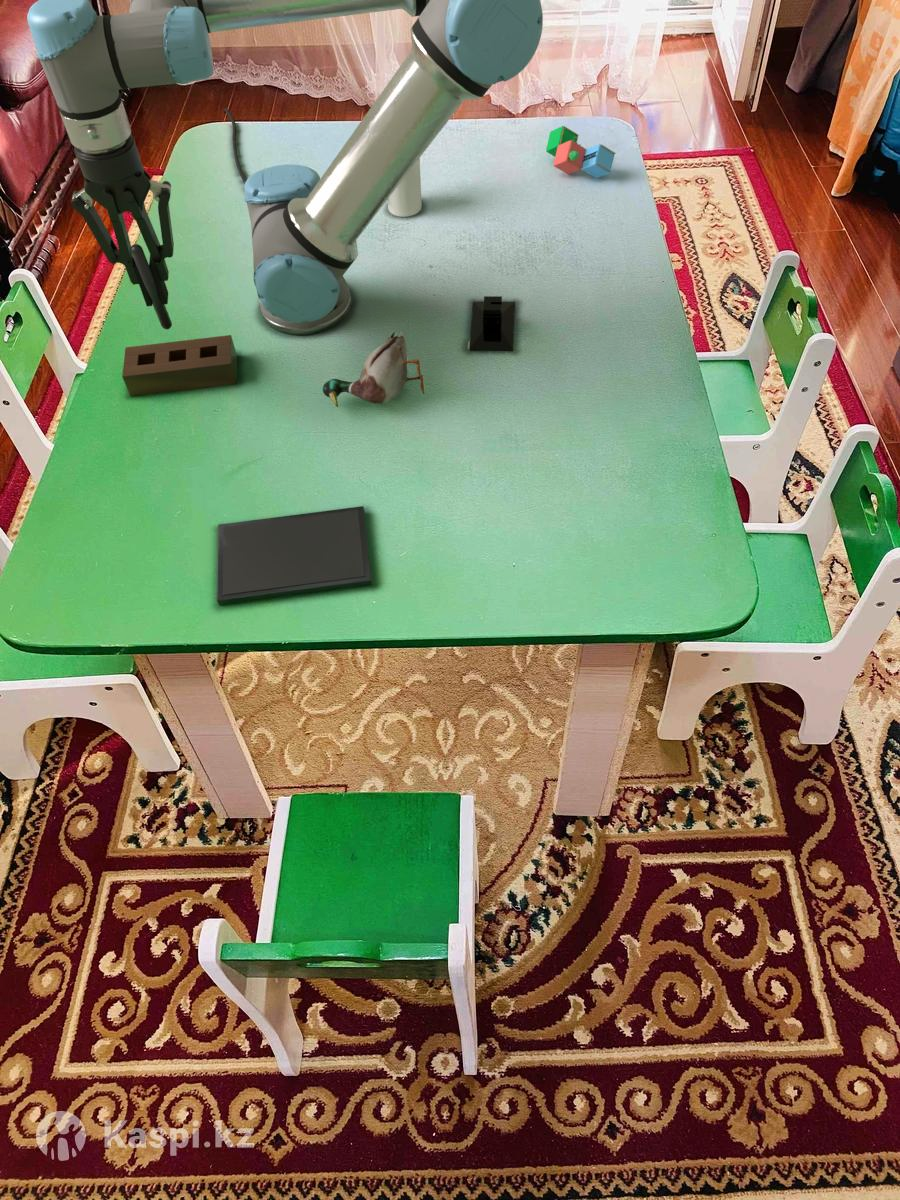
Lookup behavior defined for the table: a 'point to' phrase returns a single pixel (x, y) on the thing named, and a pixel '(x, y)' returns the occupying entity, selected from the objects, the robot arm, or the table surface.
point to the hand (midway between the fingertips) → (157, 299)
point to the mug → (407, 194)
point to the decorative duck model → (378, 374)
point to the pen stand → (180, 365)
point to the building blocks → (578, 154)
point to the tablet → (292, 555)
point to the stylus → (150, 285)
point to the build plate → (492, 325)
